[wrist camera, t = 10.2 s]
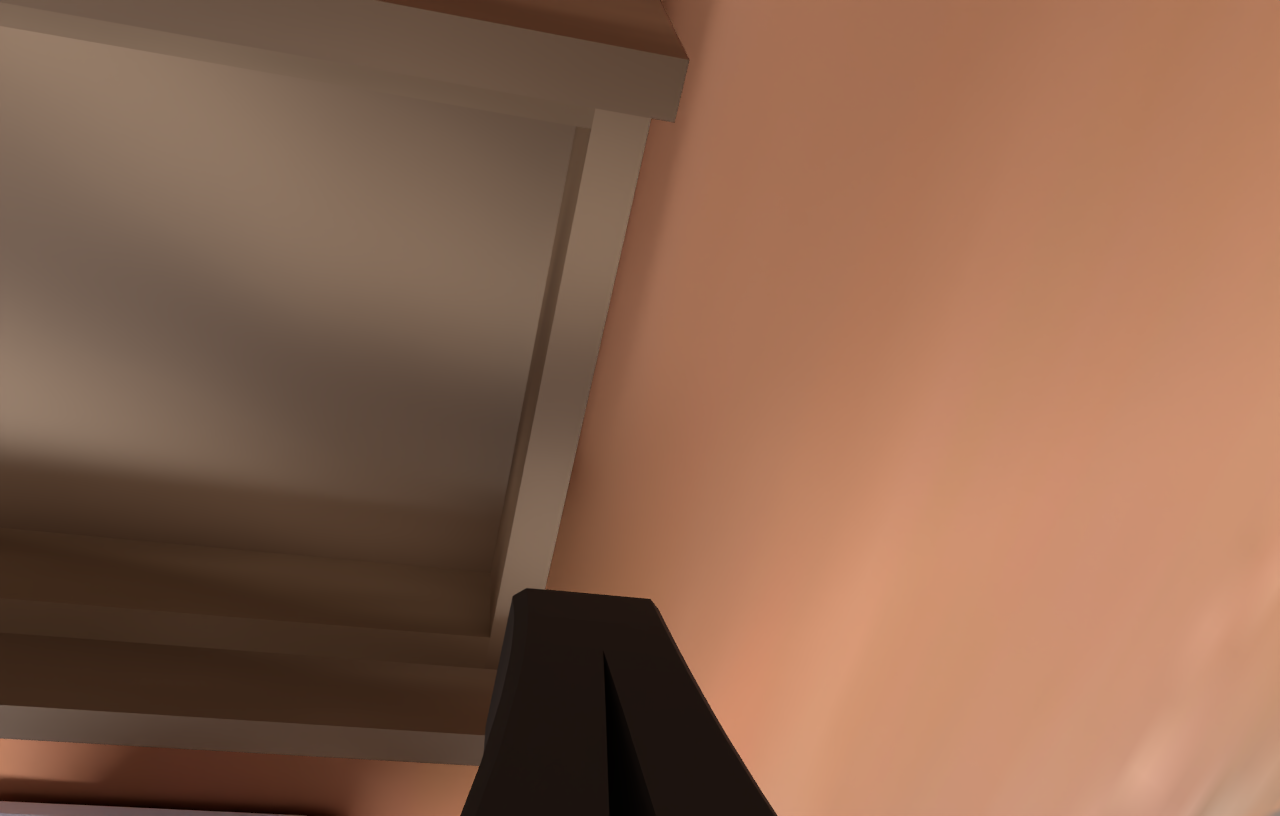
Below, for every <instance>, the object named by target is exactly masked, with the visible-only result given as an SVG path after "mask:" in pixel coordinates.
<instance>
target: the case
mask: <svg viewBox="0 0 1280 816" xmlns="http://www.w3.org/2000/svg"><path fill="white" fill-rule="evenodd" d="M688 64H689V58H688V56H687V54H686V52H685V50H684V48H683V46H682V44H681V42H680V40H679V38H678V36H677V34H676V32H675V30H674V28H673V26H672V23H671V21H670V19H669V17H668V15H667V13H666V11H665V9H664V7H663V5H662V3H661V1H660V0H0V738H4V739H21V740H38V741H56V742H73V743H91V744H108V745H125V746H143V747H160V748H177V749H195V750H212V751H229V752H247V753H264V754H281V755H299V756H316V757H334V758H351V759H368V760H386V761H403V762H420V763H438V764H455V765H472V766H480V763H481V760H482V757H483V753H484V741H485V727H486V722H487V717H488V712H489V707H490V703H491V698H492V693H493V688H494V683H495V679H496V674H497V669H498V664H499V659H500V654H501V650H502V645H503V640H504V635H505V630H506V625H507V621H508V616H509V611H510V606H511V601H512V596H513V595H515V594H517V593H519V592H520V591H522V590H524V589H526V588H533V589H544V590H545V587H546V583H547V578H548V574H549V570H550V565H551V561H552V556H553V552H554V547H555V543H556V539H557V534H558V530H559V525H560V521H561V516H562V512H563V508H564V503H565V499H566V494H567V490H568V485H569V481H570V477H571V472H572V468H573V463H574V459H575V454H576V450H577V446H578V441H579V437H580V432H581V428H582V423H583V419H584V415H585V410H586V406H587V401H588V397H589V392H590V388H591V384H592V379H593V375H594V370H595V366H596V361H597V357H598V353H599V348H600V344H601V339H602V335H603V330H604V326H605V322H606V317H607V313H608V308H609V304H610V299H611V295H612V291H613V286H614V282H615V277H616V273H617V268H618V264H619V260H620V255H621V251H622V246H623V242H624V237H625V233H626V229H627V224H628V220H629V215H630V211H631V206H632V202H633V198H634V193H635V189H636V184H637V180H638V175H639V171H640V167H641V162H642V158H643V153H644V149H645V144H646V140H647V136H648V131H649V127H650V122H651V118H652V119H657V120H663V121H669V122H674V123H675V119H676V114H677V110H678V106H679V102H680V98H681V93H682V89H683V85H684V81H685V76H686V72H687V68H688Z"/></svg>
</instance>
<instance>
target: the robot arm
mask: <svg viewBox="0 0 1280 816" xmlns="http://www.w3.org/2000/svg"><path fill="white" fill-rule="evenodd" d="M0 816H305V815H284V814H263V813H242V812H221V811H199V810H178V809H157V808H136V807H115V806H94V805H73V804H51V803H30V802H9V801H0ZM460 816H777V814H776V813H775V811H774V810H773V808H772V807H771V805H770V804H769V802H768V801H767V799H766V797H765V796H764V794H763V793H762V791H761V790H760V788H759V787H758V785H757V783H756V782H755V780H754V779H753V777H752V775H751V774H750V772H749V770H748V769H747V767H746V766H745V764H744V762H743V761H742V759H741V757H740V756H739V754H738V753H737V751H736V749H735V748H734V746H733V745H732V743H731V741H730V740H729V738H728V736H727V735H726V733H725V731H724V730H723V728H722V726H721V725H720V723H719V721H718V719H717V718H716V716H715V714H714V713H713V711H712V709H711V707H710V705H709V704H708V702H707V700H706V698H705V697H704V695H703V693H702V691H701V689H700V688H699V686H698V684H697V682H696V680H695V679H694V677H693V675H692V673H691V671H690V669H689V668H688V666H687V664H686V662H685V660H684V658H683V656H682V654H681V653H680V651H679V649H678V647H677V645H676V643H675V641H674V639H673V637H672V635H671V633H670V631H669V629H668V627H667V625H666V623H665V621H664V619H663V617H662V615H661V613H660V611H659V609H658V608H657V607H656V606H655V604H654V603H653V602H652V601H651V599H644V598H633V597H621V596H610V595H599V594H588V593H577V592H566V591H555V590H544V589H533V588H526V589H524V590H522V591H520V592H519V593H517V594H515V595H513V596H512V601H511V606H510V611H509V616H508V621H507V625H506V630H505V635H504V640H503V645H502V650H501V654H500V659H499V664H498V669H497V674H496V679H495V683H494V688H493V693H492V698H491V703H490V707H489V712H488V717H487V722H486V727H485V741H484V753H483V757H482V760H481V763H480V766H479V769H478V772H477V774H476V777H475V779H474V782H473V785H472V787H471V790H470V792H469V795H468V797H467V800H466V803H465V805H464V808H463V810H462V813H461V815H460Z"/></svg>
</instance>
